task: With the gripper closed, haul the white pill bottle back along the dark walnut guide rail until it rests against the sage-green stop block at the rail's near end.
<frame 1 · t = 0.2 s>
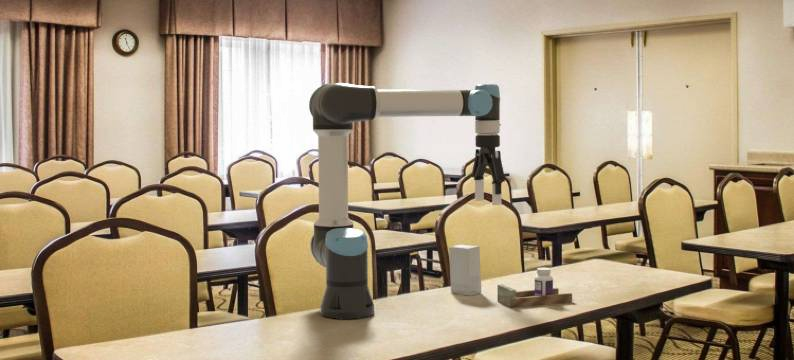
hand: (487, 202, 280), 28 cm above the table, fingers open, 13 cm apart
skincare box: (465, 293, 280), on the table
rail: (534, 301, 267), on the table
pill bottle: (543, 301, 268), resting in rail
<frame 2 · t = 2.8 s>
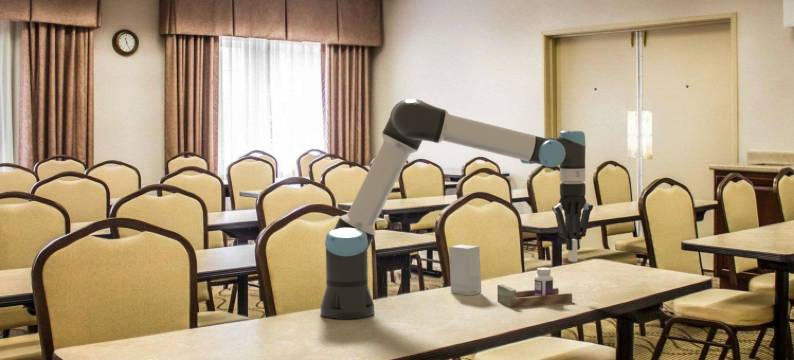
hand: (572, 260, 270), 11 cm above the table, fingers closed
nothing on the table moved.
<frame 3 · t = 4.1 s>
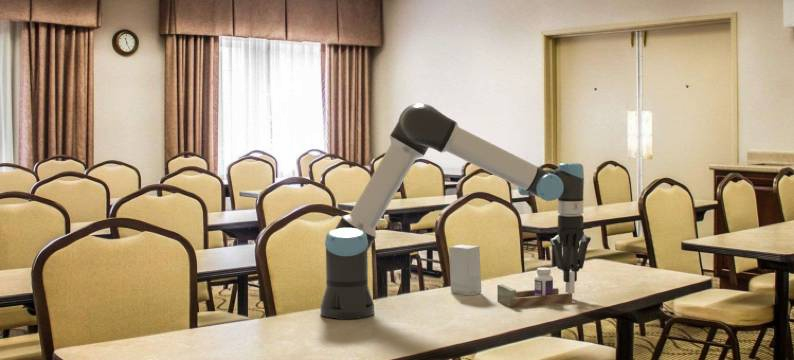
hand: (570, 292, 271), 2 cm above the table, fingers closed
nothing on the table moved.
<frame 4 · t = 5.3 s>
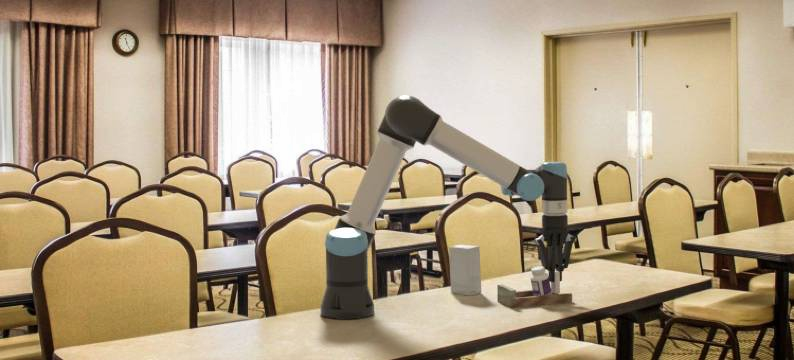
hand: (555, 292, 269), 2 cm above the table, fingers closed
pill bottle: (543, 299, 268), resting in rail, touching gripper
everything else where it was.
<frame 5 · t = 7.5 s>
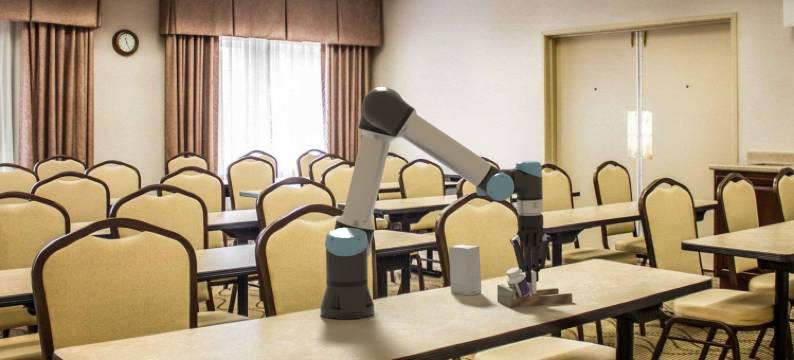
hand: (532, 293, 266), 3 cm above the table, fingers closed
pill bottle: (524, 300, 266), point 1 cm above the table, touching gripper
everything else where it was.
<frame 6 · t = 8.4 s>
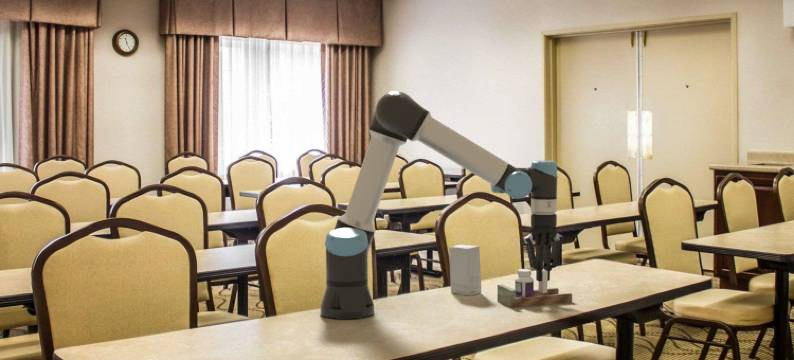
hand: (542, 291, 268), 3 cm above the table, fingers closed
pill bottle: (524, 303, 266), resting in rail
everything else where it was.
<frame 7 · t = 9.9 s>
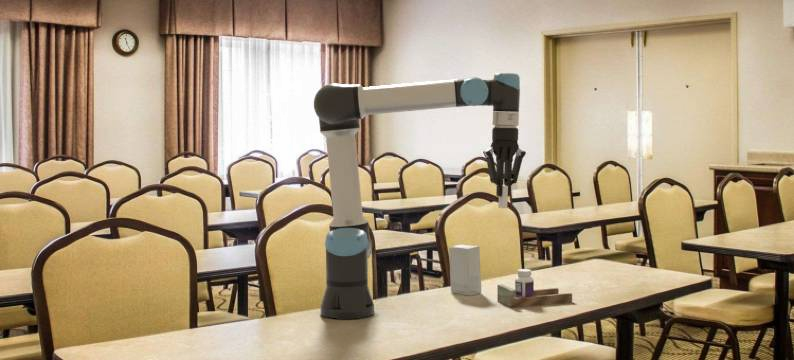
hand: (502, 207, 263), 28 cm above the table, fingers closed
nothing on the table moved.
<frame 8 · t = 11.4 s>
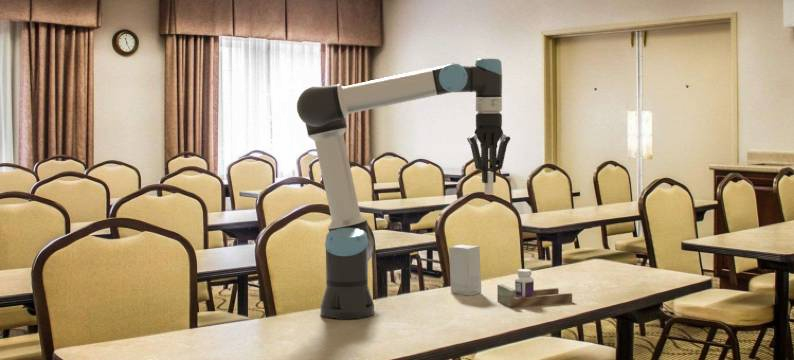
hand: (488, 194, 261), 32 cm above the table, fingers closed
nothing on the table moved.
at the end: pill bottle 1.6 cm from the target spot, resting in rail; pill bottle tilted 0°; pill bottle moved 6.4 cm from its start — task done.
